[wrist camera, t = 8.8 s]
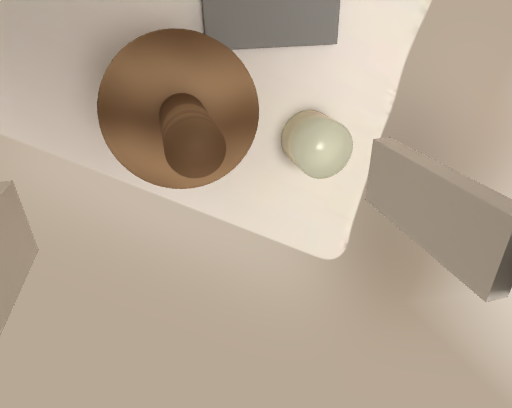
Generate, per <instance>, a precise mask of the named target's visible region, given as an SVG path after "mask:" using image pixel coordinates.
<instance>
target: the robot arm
mask: <svg viewBox="0 0 512 408" xmlns="http://www.w3.org/2000/svg"><path fill="white" fill-rule="evenodd" d="M365 200H366V201H367V202H369V203H370V204H371V205H372V206H373V207H374V208H376V209H377V210H378V211H379V212H380V213H382V214H383V215H384V216H385V217H386V218H388V219H389V220H390V221H391V222H392V223H393V224H394V225H396V226H397V227H398V228H399V229H400V230H402V231H403V232H404V233H405V234H406V235H407V236H409V237H410V238H411V239H412V240H413V241H414V242H416V243H417V244H418V245H419V246H420V247H421V248H423V249H424V250H425V251H426V252H428V253H429V254H430V255H431V256H432V257H433V258H435V259H436V260H437V261H438V262H439V263H440V264H441V265H443V266H444V267H445V268H446V269H447V270H449V271H450V272H451V273H452V274H453V275H454V276H456V277H457V278H458V279H459V280H460V281H462V282H463V283H464V284H465V285H466V286H467V287H469V288H470V289H471V290H472V291H473V292H474V293H476V294H477V295H478V296H479V297H480V298H481V299H483V300H484V301H485V302H489V301H493V300H497V299H501V298H505V297H508V295H509V293H510V290H511V288H512V199H510V198H508V197H506V196H504V195H502V194H500V193H498V192H496V191H494V190H492V189H490V188H488V187H487V186H485V185H483V184H480V183H479V182H477V181H475V180H473V179H471V178H469V177H467V176H465V175H463V174H461V173H459V172H457V171H455V170H453V169H451V168H449V167H447V166H445V165H443V164H441V163H440V162H437V161H436V160H433V159H432V158H430V157H427V156H426V155H424V154H422V153H420V152H418V151H416V150H414V149H412V148H410V147H408V146H406V145H404V144H402V143H400V142H398V141H396V140H394V139H392V138H391V137H388V138H379V139H373V145H372V152H371V160H370V167H369V174H368V182H367V189H366V197H365ZM37 252H38V247H37V245H36V242H35V239H34V237H33V234H32V231H31V229H30V226H29V223H28V221H27V218H26V215H25V213H24V210H23V207H22V204H21V202H20V199H19V197H18V194H17V191H16V188H15V185H14V183H13V181H5V182H0V335H1V333H2V331H3V328H4V326H5V324H6V321H7V319H8V317H9V315H10V313H11V310H12V308H13V306H14V304H15V302H16V299H17V297H18V295H19V293H20V290H21V288H22V286H23V284H24V282H25V279H26V277H27V275H28V273H29V270H30V268H31V266H32V263H33V261H34V259H35V257H36V255H37Z"/></svg>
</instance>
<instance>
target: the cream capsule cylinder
mask: <svg viewBox="0 0 512 408" xmlns="http://www.w3.org/2000/svg"><path fill="white" fill-rule="evenodd" d="M281 144H282V148H283V150H284V152H285V154H286V155H287V156H288V157H289V158H290V159H291V160H292V161H293V162H294V163H295V164H296V165H297V166H298V167H299V168H300V169H301V170H302V171H303V172H304V173H305V174H307V175H308V176H310V177H313V178H317V179H323V178H328V177H331V176H333V175H335V174H337V173H338V172H339V171H341V170H342V169H343V168H344V166H345V165H346V164H347V162H348V161H349V159H350V156H351V153H352V148H353V141H352V137H351V134H350V132H349V130H348V129H347V128H346V127H345V126H344V125H342V124H341V123H339V122H337V121H335V120H333V119H331V118H329V117H327V116H326V115H324V114H322V113H320V112H318V111H314V110H306V111H302V112H299V113H297V114H296V115H294V116H293V117H292V118H291V119H290V120H289V121H288V122H287V123H286V125H285V127H284V129H283V132H282V136H281Z"/></svg>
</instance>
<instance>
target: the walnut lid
mask: <svg viewBox="0 0 512 408" xmlns="http://www.w3.org/2000/svg"><path fill="white" fill-rule="evenodd" d="M97 112H98V120H99V125H100V128H101V132H102V135H103V137H104V139H105V141H106V144H107V146H108V147H109V149H110V150H111V152H112V153H113V155H114V156H115V157H116V158H117V160H118V161H119V162H120V163H121V164H122V165H123V166H124V167H125V168H126V169H127V170H129V171H130V172H131V173H133V174H134V175H136V176H137V177H139V178H141V179H143V180H144V181H147V182H149V183H152V184H154V185H158V186H161V187H166V188H173V189H187V188H195V187H200V186H203V185H207V184H210V183H212V182H214V181H216V180H218V179H220V178H222V177H223V176H225V175H226V174H228V173H229V172H230V171H231V170H233V169H234V168H235V167H236V166H237V165H238V164H239V163H240V162H241V160H242V159H243V158H244V156H245V155H246V154H247V152H248V150H249V148H250V147H251V144H252V142H253V140H254V137H255V134H256V130H257V126H258V119H259V105H258V97H257V93H256V89H255V86H254V83H253V80H252V78H251V76H250V74H249V72H248V70H247V69H246V67H245V66H244V64H243V63H242V61H241V60H240V59H239V58H238V57H237V56H236V55H235V53H233V52H232V51H231V50H230V49H229V48H228V47H226V46H225V45H224V44H222V43H221V42H219V41H218V40H216V39H214V38H212V37H210V36H208V35H205V34H202V33H199V32H196V31H192V30H186V29H163V30H157V31H154V32H150V33H147V34H145V35H143V36H140V37H138V38H137V39H135V40H133V41H132V42H130V43H129V44H127V45H126V46H125V47H124V48H123V49H122V50H121V51H120V52H119V53H118V54H117V55H116V56H115V58H114V59H113V60H112V61H111V63H110V65H109V66H108V68H107V69H106V71H105V74H104V76H103V78H102V81H101V84H100V88H99V92H98V101H97Z"/></svg>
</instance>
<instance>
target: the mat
mask: <svg viewBox="0 0 512 408" xmlns="http://www.w3.org/2000/svg"><path fill="white" fill-rule="evenodd" d="M202 9H203V21H204V33H205V35H208V36H210V37H212V38H214V39H216V40H218V41H219V42H221V43H222V44H224V45H225V46H226V47H228V48H229V49H248V48H268V47H288V46H309V45H329V44H337V38H338V23H339V9H340V0H202Z"/></svg>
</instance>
